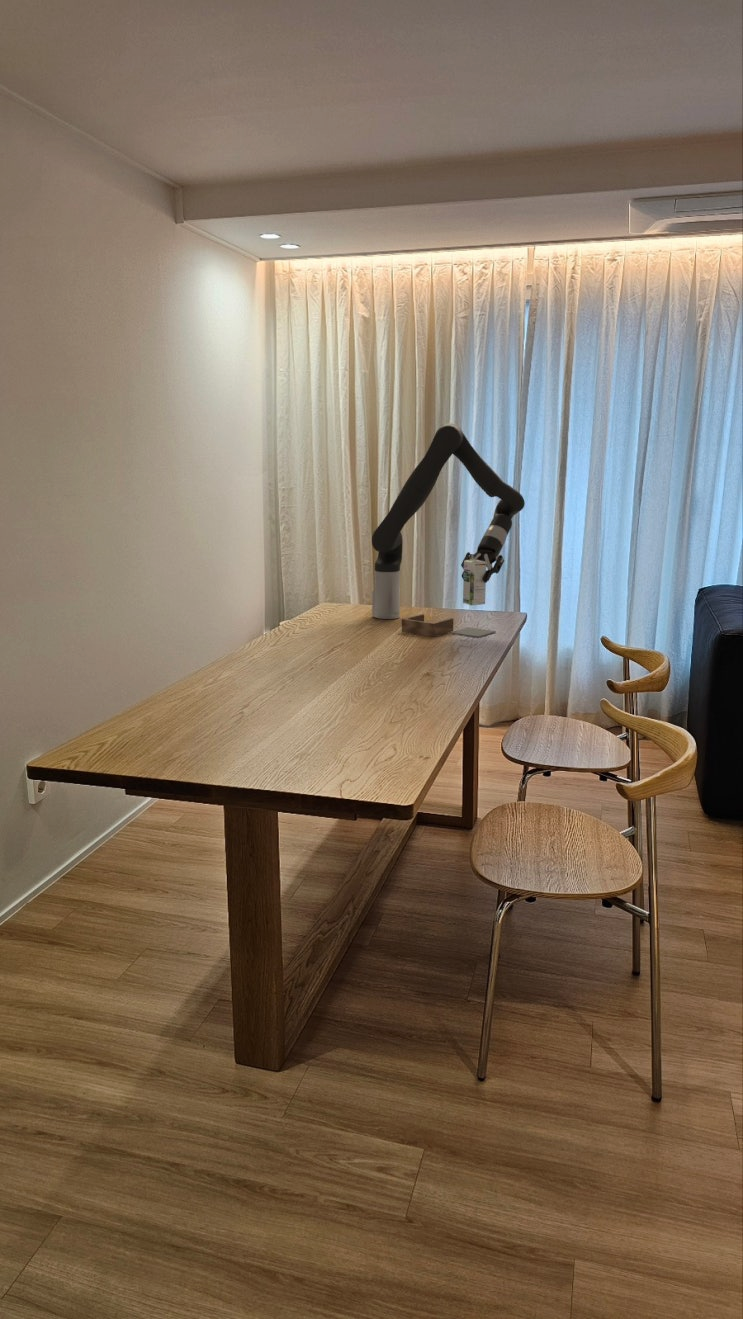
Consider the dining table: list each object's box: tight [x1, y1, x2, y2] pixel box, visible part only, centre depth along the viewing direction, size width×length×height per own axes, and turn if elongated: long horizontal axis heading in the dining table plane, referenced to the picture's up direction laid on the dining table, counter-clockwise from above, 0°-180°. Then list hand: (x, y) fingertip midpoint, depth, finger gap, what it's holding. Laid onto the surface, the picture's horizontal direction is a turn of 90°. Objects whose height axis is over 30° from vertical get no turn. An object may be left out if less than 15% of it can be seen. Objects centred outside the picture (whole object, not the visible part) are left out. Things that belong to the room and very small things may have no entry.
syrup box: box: [462, 560, 487, 606], centre depth 308 cm, size 6×6×14 cm
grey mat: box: [450, 626, 497, 639], centre depth 312 cm, size 11×11×1 cm
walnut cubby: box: [401, 613, 454, 638], centre depth 314 cm, size 13×12×4 cm
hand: (473, 580), depth 308 cm, fingers closed on syrup box, 7 cm apart
